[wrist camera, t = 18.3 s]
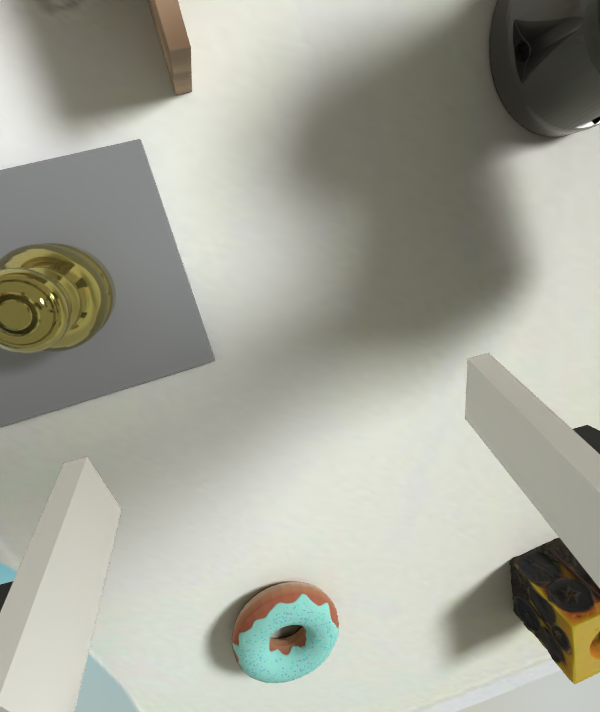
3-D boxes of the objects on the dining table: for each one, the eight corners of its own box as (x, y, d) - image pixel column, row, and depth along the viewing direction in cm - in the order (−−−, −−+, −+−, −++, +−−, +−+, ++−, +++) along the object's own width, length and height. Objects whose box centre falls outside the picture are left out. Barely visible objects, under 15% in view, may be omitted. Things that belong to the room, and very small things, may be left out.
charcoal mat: (214, 358, 37) (214, 360, 37) (4, 423, 35) (0, 427, 34) (141, 141, 31) (139, 139, 31) (-120, 199, 29) (-128, 198, 28)
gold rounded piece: (-13, 283, 31) (-102, 305, 22) (67, 222, 31) (11, 216, 22) (65, 356, 34) (15, 403, 24) (137, 299, 34) (116, 324, 24)
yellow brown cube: (573, 529, 55) (650, 589, 46) (575, 585, 59) (646, 651, 49) (507, 558, 54) (572, 626, 44) (512, 613, 57) (574, 687, 48)
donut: (351, 608, 50) (364, 638, 46) (275, 672, 50) (282, 707, 46) (290, 555, 46) (299, 583, 42) (207, 625, 46) (208, 660, 42)
